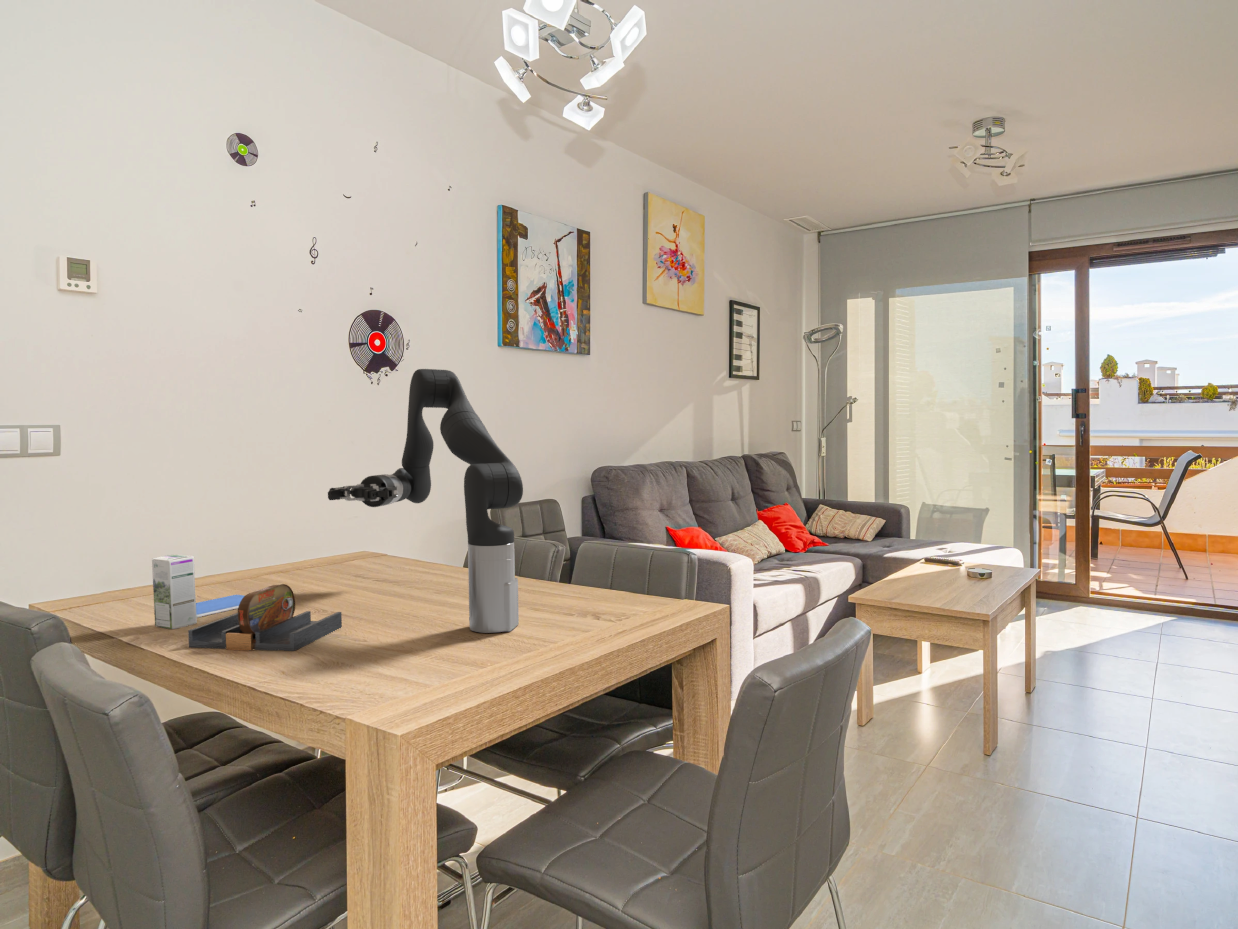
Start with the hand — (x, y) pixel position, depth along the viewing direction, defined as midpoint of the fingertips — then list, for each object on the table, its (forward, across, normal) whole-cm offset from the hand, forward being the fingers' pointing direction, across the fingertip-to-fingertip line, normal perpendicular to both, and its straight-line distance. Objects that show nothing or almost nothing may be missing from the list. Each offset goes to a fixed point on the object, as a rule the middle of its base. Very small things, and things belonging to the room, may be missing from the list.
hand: (348, 495), depth 167 cm
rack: (+22, -6, +26) cm, 34 cm away
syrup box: (+15, -31, +26) cm, 43 cm away
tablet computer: (-2, -34, +27) cm, 43 cm away
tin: (+21, -6, +25) cm, 33 cm away
